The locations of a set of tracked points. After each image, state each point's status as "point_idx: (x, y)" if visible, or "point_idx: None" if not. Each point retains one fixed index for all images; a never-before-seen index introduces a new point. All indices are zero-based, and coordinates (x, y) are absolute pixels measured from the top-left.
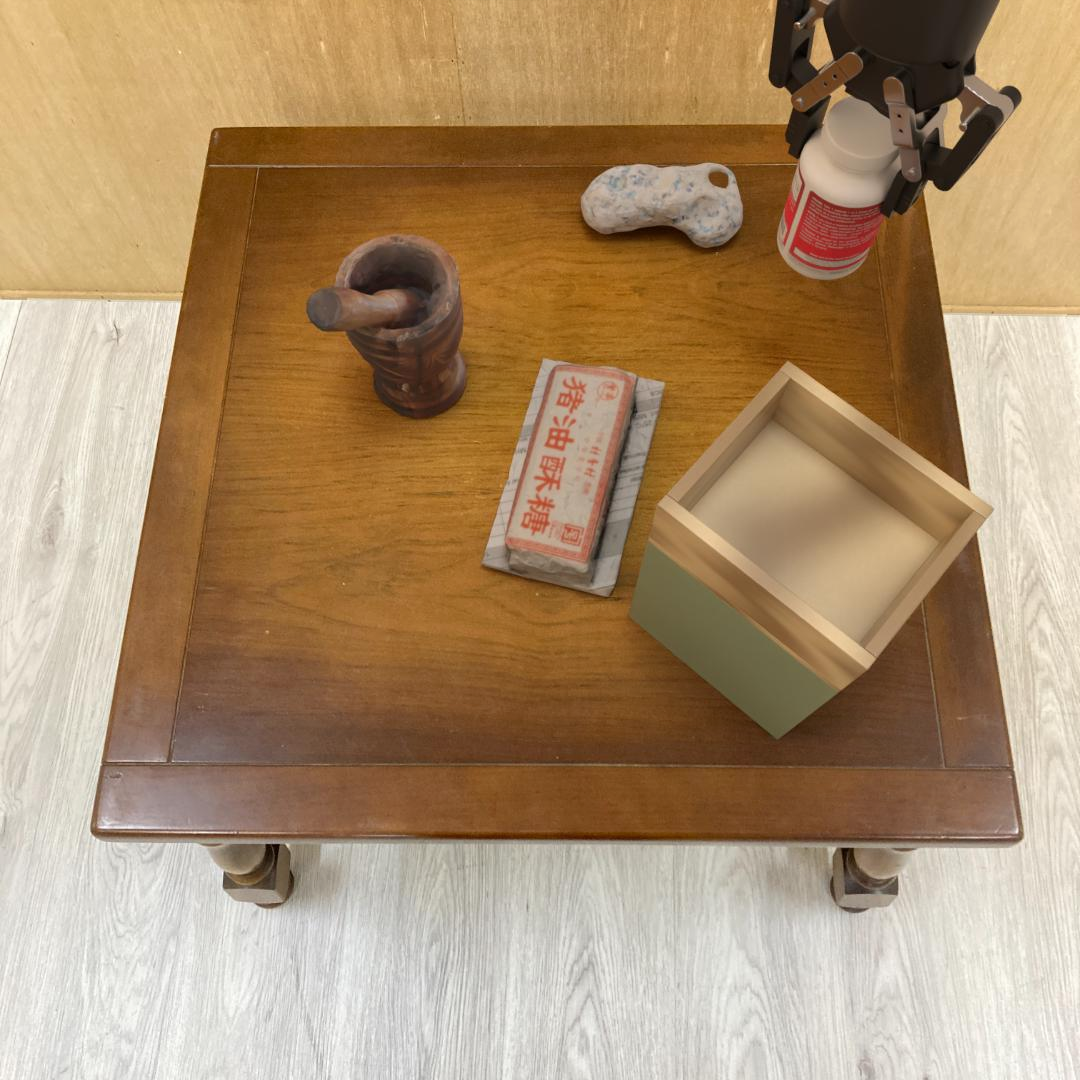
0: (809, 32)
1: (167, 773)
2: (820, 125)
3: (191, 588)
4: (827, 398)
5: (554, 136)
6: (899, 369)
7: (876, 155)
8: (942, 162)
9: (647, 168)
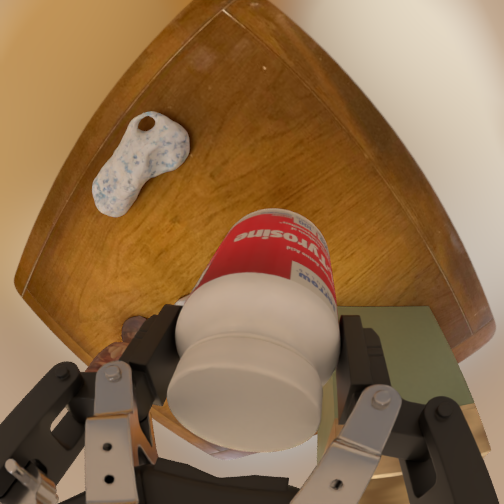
0: (45, 436)
1: (223, 452)
2: (171, 328)
3: (174, 423)
4: (375, 477)
5: (62, 168)
6: (367, 146)
7: (294, 446)
8: (405, 455)
9: (105, 172)
